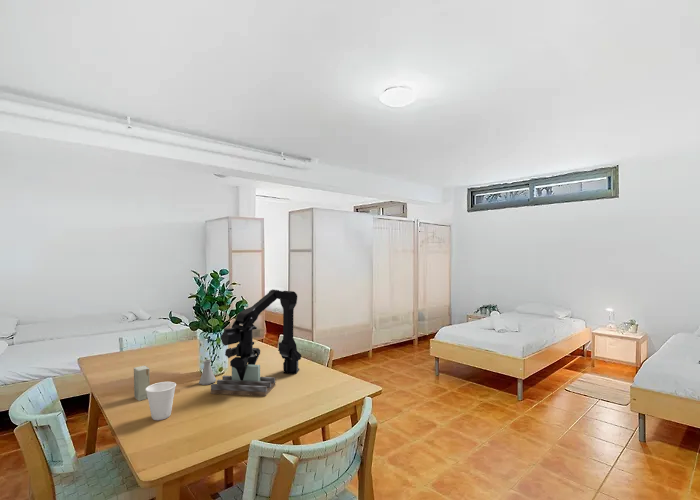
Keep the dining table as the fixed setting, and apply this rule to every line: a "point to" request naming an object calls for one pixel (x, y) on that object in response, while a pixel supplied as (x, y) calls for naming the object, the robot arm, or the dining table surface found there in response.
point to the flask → (207, 374)
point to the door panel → (248, 373)
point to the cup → (161, 399)
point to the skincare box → (141, 382)
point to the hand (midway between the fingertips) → (246, 376)
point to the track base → (243, 386)
